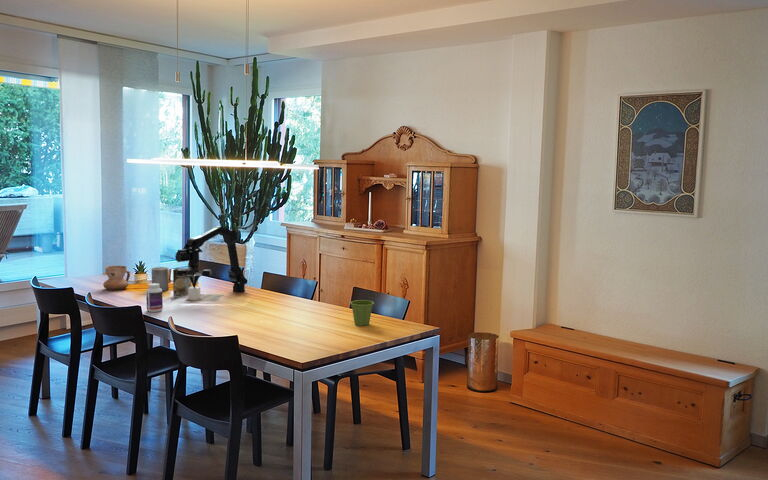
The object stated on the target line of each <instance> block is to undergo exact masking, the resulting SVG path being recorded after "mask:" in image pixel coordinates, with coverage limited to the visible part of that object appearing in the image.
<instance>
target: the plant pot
mask: <svg viewBox="0 0 768 480" xmlns="http://www.w3.org/2000/svg"><path fill="white" fill-rule="evenodd" d="M349 304H350V305H351V309H352V315H353V321H354V325H356V326H357V327H363V326H365V327H367V326H369V325H370V321H371V316H372V310H373V306H374V304H375V302H374V301H372V300H367V299H358V300H356V299H355V300H353V301H350V302H349Z"/></svg>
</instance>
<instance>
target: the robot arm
mask: <svg viewBox="0 0 768 480" xmlns="http://www.w3.org/2000/svg"><path fill="white" fill-rule="evenodd" d="M218 235H220V236H222V239H223V241H224V243H225V244H226V245H227V246H226V247H227V251H228V256H229V257H228V258H229V263H230V264H229V265H230V268H229V270H228V271H227V273H228V278H229V280H231V283H232V284H233V286H232V292H233V293H245V292H246V285H247V283H248V281H249V280H248V279H247V278H246V277H245V275H244V272H243V270H242V269H241V267H240V264H239V257H238V250H237V245H236V243H237V241H238V232H237V231H235V229H228V228H226V227H224V226H219V225H217V226H214V227H213V228H212V229H209V230H207V231H206V232H203V233H201V234H200V235H197V236H193V237H190V238H188V239H187V240H186V243H185V245H184V247H183V248H182V249H177V252H176V253H175V256H174V257H175V261H176V262H177V263H181V262H183V263H184V262H188V264H187V265H188V266H187V268H186V269H179V270H177V272H176V275H183V274H187V277H189V278H190V280H191V286H192V287H194V288H195V287H197V284H198V281H199V279H200V278H201V277H202V275H203V277H209V276H212V274H213V271H212V269H203V270H201V268H200V253H203V250H202V249H201V247H202V246H203V245H204V243H205V242H208V241H209V240H210V239H212V238H214V237H217V236H218Z"/></svg>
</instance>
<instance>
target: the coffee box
mask: <svg viewBox="0 0 768 480" xmlns="http://www.w3.org/2000/svg"><path fill="white" fill-rule="evenodd" d="M179 269H187V268H184V267H183V268H182V267H176V268H174V269H173V270H172V278H173V279H172V280H173V281H172V284H173V285H172V286H173V287H172V289H173V290H172V291H173V292H172V293H173V294H172V296H173V297H181V296H188V288H190V287H192V282H191V280H190V278H189V277H187V274H183V275H176V272H177V270H179Z"/></svg>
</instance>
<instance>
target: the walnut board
mask: <svg viewBox="0 0 768 480" xmlns="http://www.w3.org/2000/svg"><path fill="white" fill-rule="evenodd" d="M222 297H224V294H217V293H215V294H211V293H210V294H206V293H205V294H203V293H200V299H199V300H188V298H187V299H185V300H184V302H218V301H219V300H221V298H222Z"/></svg>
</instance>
